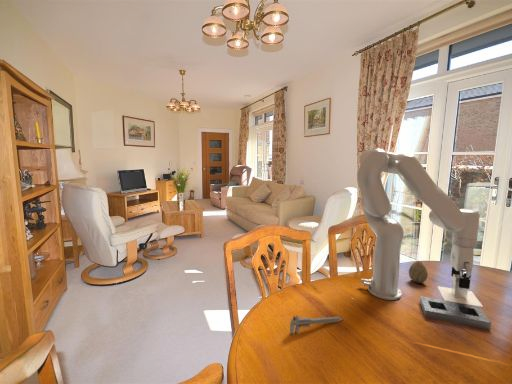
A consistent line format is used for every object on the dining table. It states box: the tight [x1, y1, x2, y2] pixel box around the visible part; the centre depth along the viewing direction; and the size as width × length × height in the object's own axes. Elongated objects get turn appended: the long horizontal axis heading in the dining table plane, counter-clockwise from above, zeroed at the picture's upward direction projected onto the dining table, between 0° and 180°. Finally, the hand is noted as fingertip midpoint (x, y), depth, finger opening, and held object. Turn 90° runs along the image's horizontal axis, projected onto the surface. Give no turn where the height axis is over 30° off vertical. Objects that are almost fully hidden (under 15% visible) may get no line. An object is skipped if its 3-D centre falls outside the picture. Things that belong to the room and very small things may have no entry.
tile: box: [436, 285, 484, 308], centre depth 104 cm, size 12×12×1 cm
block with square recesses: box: [419, 295, 492, 331], centre depth 92 cm, size 18×10×3 cm, turn 67°
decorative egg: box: [408, 260, 429, 284], centre depth 116 cm, size 7×7×10 cm
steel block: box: [451, 274, 469, 299], centre depth 104 cm, size 4×4×8 cm
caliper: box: [289, 315, 344, 336], centre depth 87 cm, size 20×1×6 cm, turn 111°
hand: (459, 282), depth 104 cm, fingers open, 9 cm apart
